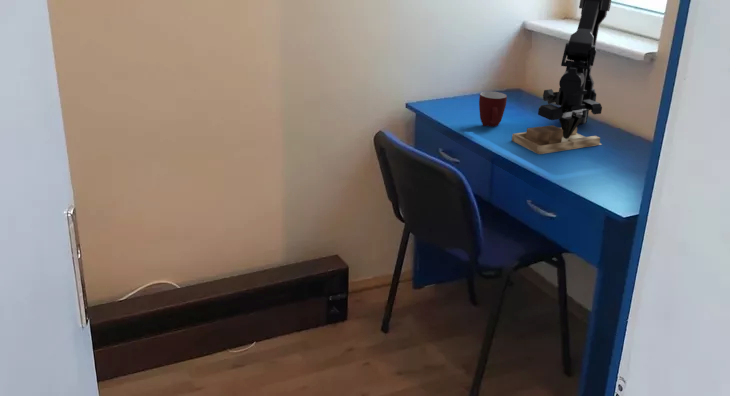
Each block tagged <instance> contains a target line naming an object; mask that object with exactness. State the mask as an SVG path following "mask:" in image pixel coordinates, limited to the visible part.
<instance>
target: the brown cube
mask: <svg viewBox="0 0 730 396" xmlns="http://www.w3.org/2000/svg"><path fill="white" fill-rule="evenodd" d="M541 127H542V128H544V129H546V130H548V131H550V136H549V143H548V144H555V143H561V141H562V135H563V130H562V129H560V128H561V127H558V126H555V125H552V124H551V125H550V124H549V125H545V126H541Z"/></svg>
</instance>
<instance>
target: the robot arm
mask: <svg viewBox="0 0 730 396" xmlns="http://www.w3.org/2000/svg"><path fill="white" fill-rule="evenodd" d="M611 4H612V0H579V6H578V8H579V9H581V12H580V14H581V15H580V19H579V23H578V26H577V30H576V31H575V32H573V33H572V34H571V35H570V38H569V40H568V42H566V43H565V46H564V50H563V54H562V55H563V56H562V59H561V63H560V67H565V72H563V75H561V77H560V79H559V83H558V84H559V89H558V91H555V92H554V90H553V89H552V88H551V89H544V90H543V94H542V98H543V99H542V100H543V101H544V102H547V104H542V105H541V104H540V106H539V107H538V111H537V115H538V116H541V117H542V118H544V119H547V120H549V121H550V120H551V121H555V120H556V121H557V120H559V123H560V126H561V127H562V130H563V136H564V138H565V139H568V138H569V137H570V135H571V134H572V133H573V131H574V130H575V128H578V126H579V125H585V124H586V123H587V122H588V117H589V111H591V114H592V115H601V114H602V110H603V106H602V104H601V103H600V102H597V93H596V89H595V88H594V87H595V82H594V79H593V76H592V69H593V67H594V63H595V59H596V55H597V49H596V47H597V46H596V45H597V39H598V34H599V28H600V24H602V22H603V21H604V20H605V19H606V18H607V15H608V12H610V9H611V6H612V5H611ZM552 103H555V105H554V104H552ZM556 105H557V106H556ZM561 127H560V128H561Z"/></svg>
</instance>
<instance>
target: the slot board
mask: <svg viewBox="0 0 730 396" xmlns="http://www.w3.org/2000/svg"><path fill="white" fill-rule="evenodd" d="M559 128H560V129H562V127H559ZM526 133H527V131H524V132H516V133H512V136H511V137H512V138H511V141H512V142H513V143H516V144H518V145H519V146H522V147H523V148H525V149H528V150H529V151H532V152H533V153H535V154H537V155H545V154H550V153H556V152H561V151H563V152H564V151H569V150H575V149H580V148H581V149H582V148H588V147H595V146H601V145H603V144H602V143H601V137H599V136H597V135H591V136H585V135H582V134H580V133H578V127H576V128H575V130H574V131H573V133H572V134H571V135H570V137H569V138H568V139H565V138H564V136H563V135H562V141H561V143H555V144H548V145H541V146H540V145H538V144H536V143H534V142H532V141H530V140H528V139H526Z"/></svg>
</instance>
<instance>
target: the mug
mask: <svg viewBox="0 0 730 396" xmlns="http://www.w3.org/2000/svg"><path fill="white" fill-rule="evenodd" d="M507 101H508V96H507V94H506V93H503V92H497V91H489V90H488V91H482V92H480V94H479V99H478V108H479V119H480V122H481V124H482V127H498V126H499V125H500V123H501V121H502V119H503V116H504V113H505V109H506V106H507Z"/></svg>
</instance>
